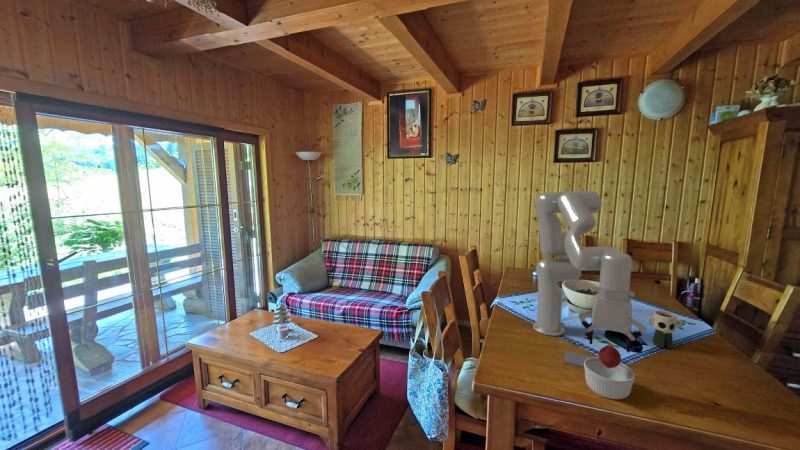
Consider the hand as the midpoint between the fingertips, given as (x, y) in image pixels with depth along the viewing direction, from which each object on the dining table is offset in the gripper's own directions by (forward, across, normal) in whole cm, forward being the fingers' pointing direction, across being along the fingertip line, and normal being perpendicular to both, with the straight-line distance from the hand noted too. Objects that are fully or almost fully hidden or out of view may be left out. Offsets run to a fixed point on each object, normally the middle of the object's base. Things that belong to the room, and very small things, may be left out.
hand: (608, 346), depth 100 cm
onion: (+7, 0, +1) cm, 7 cm away
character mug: (+15, -20, -40) cm, 47 cm away
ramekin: (+14, 0, +1) cm, 14 cm away
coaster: (+14, +8, -12) cm, 20 cm away
